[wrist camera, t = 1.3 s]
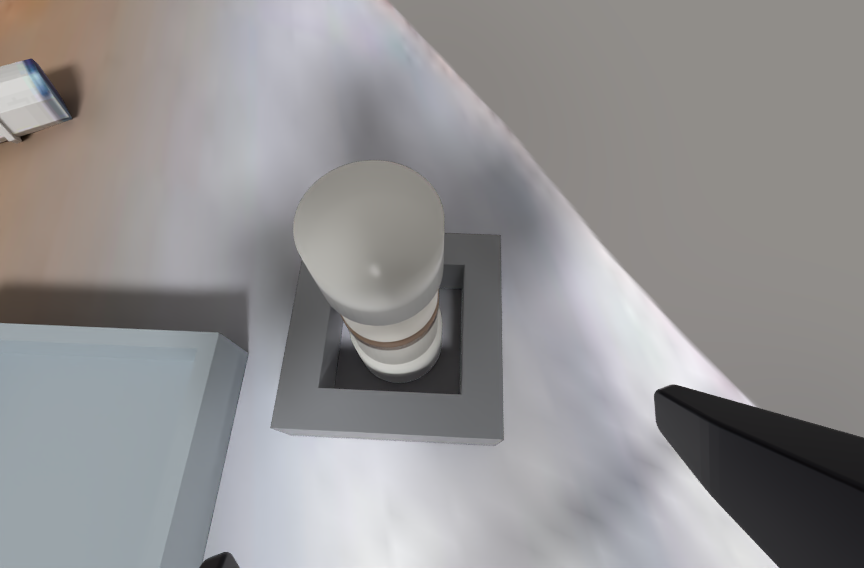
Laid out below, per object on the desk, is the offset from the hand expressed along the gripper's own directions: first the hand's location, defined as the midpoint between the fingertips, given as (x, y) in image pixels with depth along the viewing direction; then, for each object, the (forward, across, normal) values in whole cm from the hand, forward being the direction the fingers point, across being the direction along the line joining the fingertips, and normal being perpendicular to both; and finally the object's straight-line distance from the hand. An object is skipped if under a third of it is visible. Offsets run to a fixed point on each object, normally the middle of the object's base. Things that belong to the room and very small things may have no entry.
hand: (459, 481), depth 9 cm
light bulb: (+15, 0, +4) cm, 15 cm away
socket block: (+15, 0, +4) cm, 15 cm away
